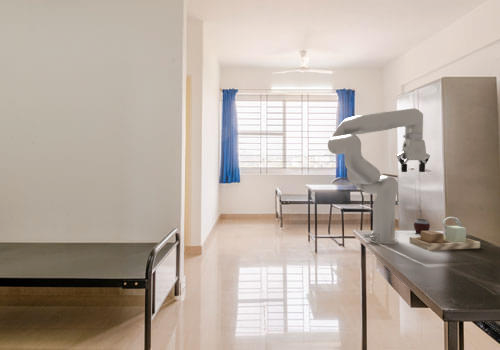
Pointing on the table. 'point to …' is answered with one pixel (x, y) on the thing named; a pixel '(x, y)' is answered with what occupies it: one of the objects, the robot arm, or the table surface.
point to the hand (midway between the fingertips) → (413, 172)
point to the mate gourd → (421, 224)
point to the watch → (455, 221)
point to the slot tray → (445, 244)
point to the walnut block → (432, 237)
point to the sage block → (455, 234)
